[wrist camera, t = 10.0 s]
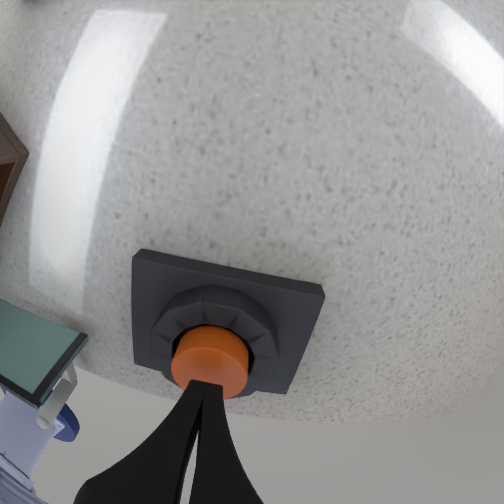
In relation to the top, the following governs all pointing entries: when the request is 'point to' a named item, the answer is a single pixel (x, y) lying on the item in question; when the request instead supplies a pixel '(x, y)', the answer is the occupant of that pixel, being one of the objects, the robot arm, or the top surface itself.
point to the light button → (211, 359)
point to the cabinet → (9, 163)
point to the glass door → (37, 360)
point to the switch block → (222, 315)
